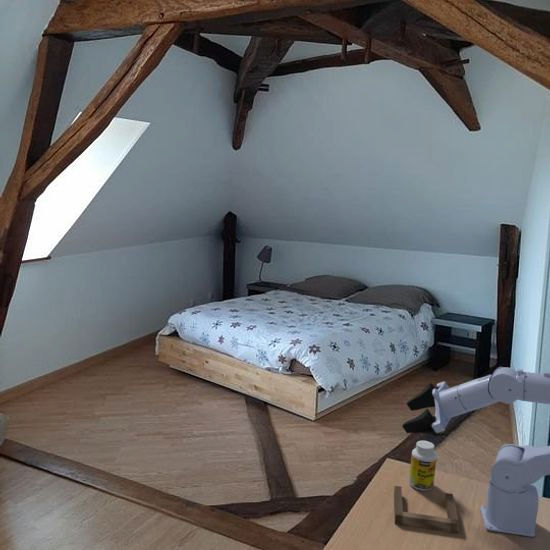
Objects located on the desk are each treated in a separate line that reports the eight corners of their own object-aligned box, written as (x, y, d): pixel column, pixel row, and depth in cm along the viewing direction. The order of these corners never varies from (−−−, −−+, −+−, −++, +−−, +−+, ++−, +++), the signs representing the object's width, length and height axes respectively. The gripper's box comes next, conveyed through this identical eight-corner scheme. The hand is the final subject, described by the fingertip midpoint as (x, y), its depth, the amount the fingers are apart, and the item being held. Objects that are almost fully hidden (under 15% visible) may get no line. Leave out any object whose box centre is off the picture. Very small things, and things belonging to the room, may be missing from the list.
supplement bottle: (413, 492, 129) (418, 450, 127) (405, 479, 134) (409, 438, 132) (437, 491, 130) (442, 450, 128) (427, 478, 135) (432, 438, 133)
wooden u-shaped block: (451, 502, 126) (452, 493, 125) (458, 533, 115) (459, 524, 115) (393, 493, 128) (394, 485, 127) (394, 523, 117) (395, 514, 117)
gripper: (455, 363, 125) (401, 384, 132) (452, 405, 113) (392, 425, 119) (472, 388, 126) (417, 407, 133) (470, 432, 114) (410, 450, 121)
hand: (407, 417), depth 126 cm, fingers open, 7 cm apart
